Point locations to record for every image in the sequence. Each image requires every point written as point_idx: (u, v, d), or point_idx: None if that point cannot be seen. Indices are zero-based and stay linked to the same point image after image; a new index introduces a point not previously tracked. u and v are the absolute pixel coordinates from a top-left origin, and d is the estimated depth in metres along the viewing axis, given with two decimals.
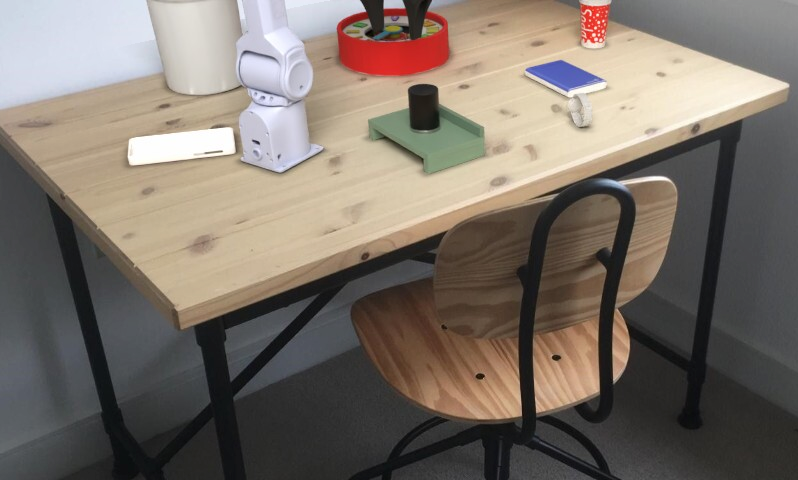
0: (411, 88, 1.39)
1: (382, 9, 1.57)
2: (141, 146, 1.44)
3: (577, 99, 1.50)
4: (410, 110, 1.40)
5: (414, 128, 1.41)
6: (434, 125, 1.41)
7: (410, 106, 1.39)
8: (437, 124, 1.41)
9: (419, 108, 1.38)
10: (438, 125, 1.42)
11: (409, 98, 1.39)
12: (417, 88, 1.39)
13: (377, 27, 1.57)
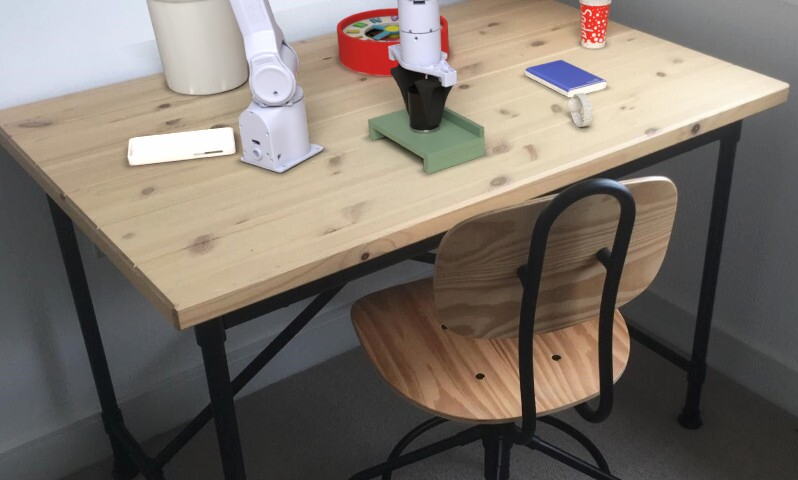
0: (411, 88, 1.39)
1: None
2: (141, 146, 1.44)
3: (577, 99, 1.50)
4: (410, 110, 1.40)
5: (414, 128, 1.41)
6: (434, 125, 1.41)
7: (410, 106, 1.39)
8: (437, 124, 1.41)
9: (419, 108, 1.39)
10: (438, 125, 1.42)
11: (409, 98, 1.39)
12: None
13: None
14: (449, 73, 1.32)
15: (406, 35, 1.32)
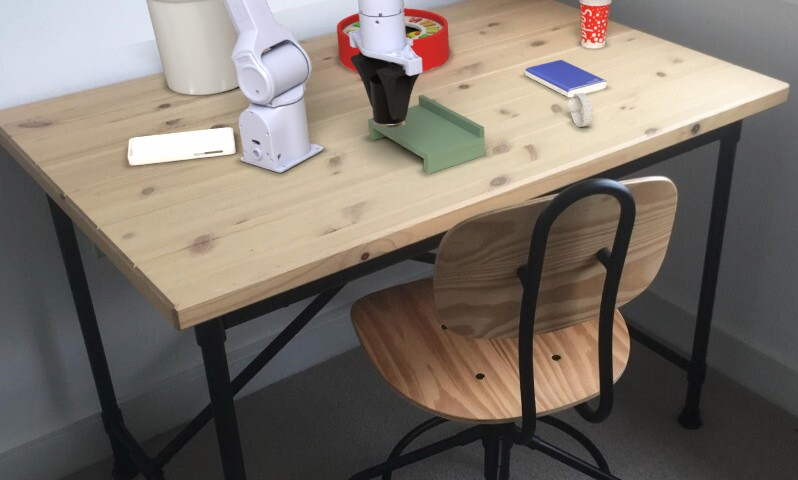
0: (374, 77, 1.27)
1: None
2: (141, 146, 1.44)
3: (577, 99, 1.50)
4: (373, 102, 1.28)
5: (377, 121, 1.29)
6: (399, 118, 1.28)
7: (373, 97, 1.27)
8: (403, 117, 1.29)
9: (382, 99, 1.26)
10: (404, 118, 1.29)
11: (371, 88, 1.27)
12: None
13: None
14: (413, 60, 1.20)
15: (366, 19, 1.20)
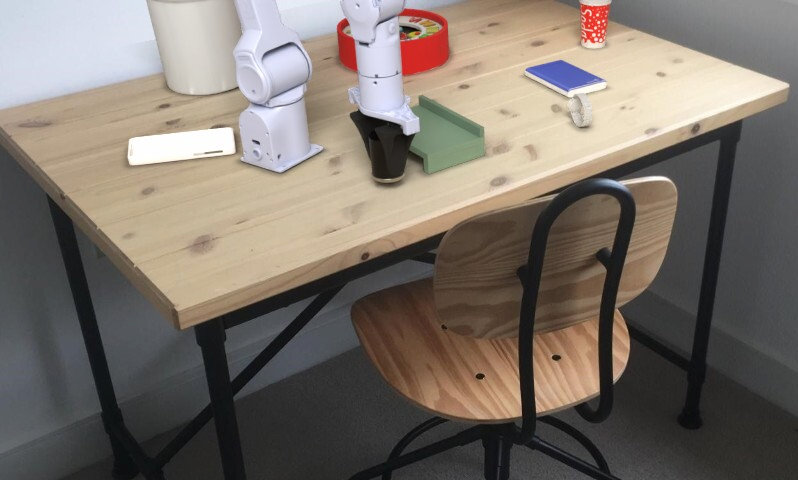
0: (372, 134, 1.30)
1: None
2: (141, 146, 1.44)
3: (577, 99, 1.50)
4: (371, 157, 1.30)
5: (376, 176, 1.31)
6: None
7: (371, 153, 1.30)
8: (401, 172, 1.32)
9: (380, 155, 1.29)
10: (402, 172, 1.32)
11: (370, 145, 1.29)
12: None
13: None
14: (411, 120, 1.22)
15: (364, 80, 1.23)
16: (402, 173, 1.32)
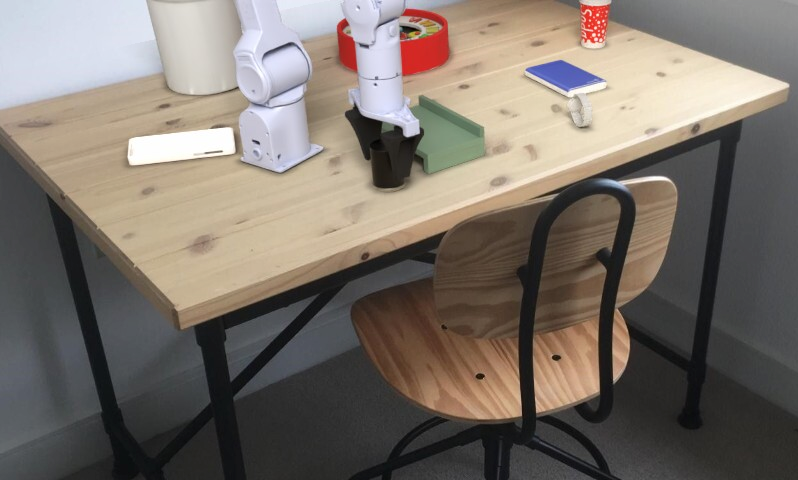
0: (373, 144, 1.31)
1: (379, 135, 1.34)
2: (141, 146, 1.44)
3: (577, 99, 1.50)
4: (372, 167, 1.31)
5: (377, 186, 1.32)
6: (398, 182, 1.32)
7: (372, 163, 1.31)
8: (401, 181, 1.32)
9: (381, 165, 1.30)
10: (403, 182, 1.33)
11: (371, 154, 1.30)
12: (380, 144, 1.31)
13: (369, 155, 1.34)
14: (411, 122, 1.22)
15: (365, 82, 1.23)
16: (403, 182, 1.33)
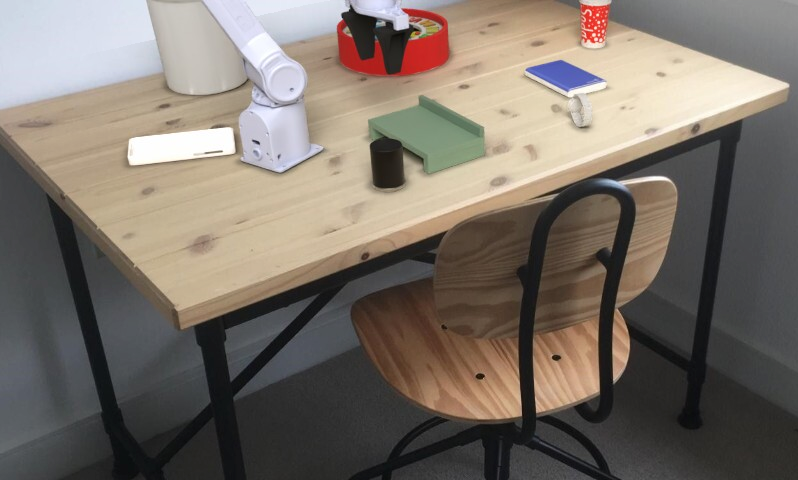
0: (373, 144, 1.31)
1: (373, 36, 1.44)
2: (141, 146, 1.44)
3: (577, 99, 1.50)
4: (372, 167, 1.31)
5: (377, 186, 1.32)
6: (398, 182, 1.32)
7: (372, 163, 1.31)
8: (401, 181, 1.32)
9: (381, 165, 1.30)
10: (403, 182, 1.33)
11: (371, 154, 1.30)
12: (380, 144, 1.31)
13: (364, 55, 1.45)
14: (400, 16, 1.33)
15: None
16: (403, 182, 1.33)
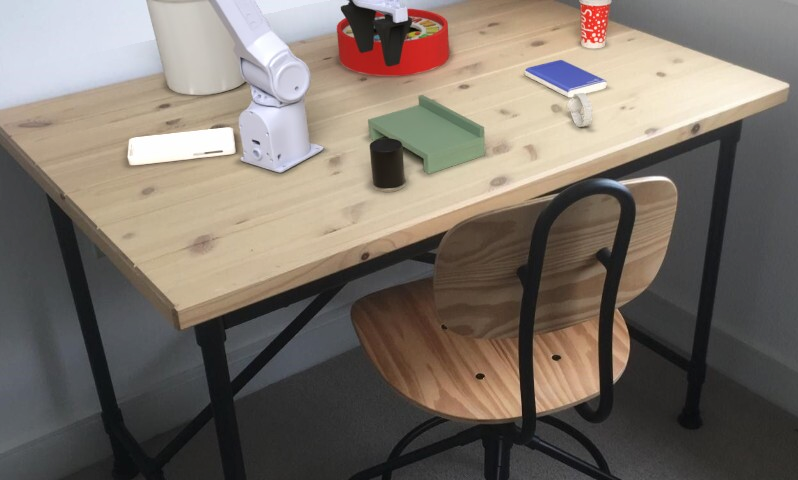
0: (373, 144, 1.31)
1: (372, 29, 1.47)
2: (141, 146, 1.44)
3: (577, 99, 1.50)
4: (372, 167, 1.31)
5: (377, 186, 1.32)
6: (398, 182, 1.32)
7: (372, 163, 1.31)
8: (401, 181, 1.32)
9: (381, 165, 1.30)
10: (403, 182, 1.33)
11: (371, 154, 1.30)
12: (380, 144, 1.31)
13: (363, 48, 1.48)
14: (400, 9, 1.36)
15: None
16: (403, 182, 1.33)
